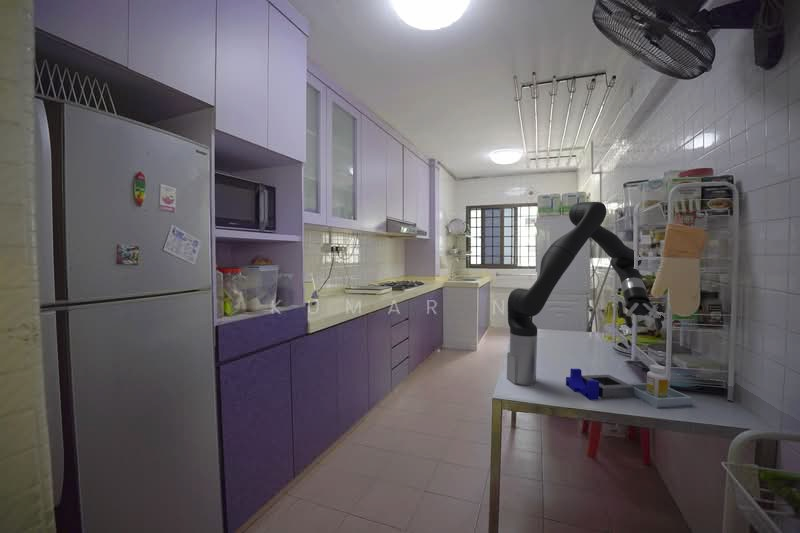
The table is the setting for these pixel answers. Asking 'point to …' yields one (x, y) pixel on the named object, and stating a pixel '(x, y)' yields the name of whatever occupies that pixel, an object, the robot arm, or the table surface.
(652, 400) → the tray
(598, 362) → the table surface
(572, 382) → the blue stepped block
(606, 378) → the tray
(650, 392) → the supplement bottle
